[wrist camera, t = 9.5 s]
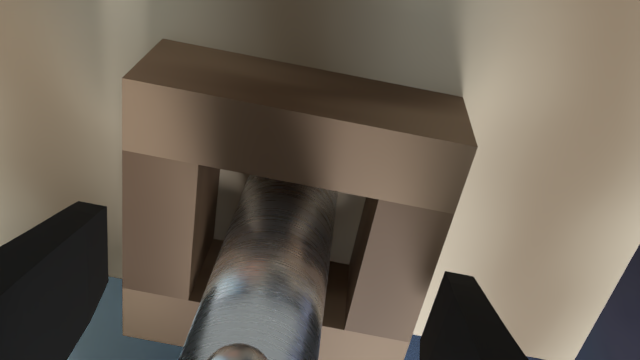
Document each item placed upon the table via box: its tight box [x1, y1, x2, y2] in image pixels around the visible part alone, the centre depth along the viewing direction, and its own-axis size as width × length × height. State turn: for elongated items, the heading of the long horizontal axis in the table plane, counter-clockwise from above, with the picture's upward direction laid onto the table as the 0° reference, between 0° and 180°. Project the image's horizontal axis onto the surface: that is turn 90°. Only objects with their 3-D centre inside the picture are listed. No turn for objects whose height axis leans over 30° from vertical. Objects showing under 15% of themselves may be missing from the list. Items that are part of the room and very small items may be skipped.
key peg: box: [179, 175, 337, 360], centre depth 12 cm, size 2×5×8 cm, turn 171°
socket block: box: [122, 39, 478, 360], centre depth 14 cm, size 7×7×2 cm
